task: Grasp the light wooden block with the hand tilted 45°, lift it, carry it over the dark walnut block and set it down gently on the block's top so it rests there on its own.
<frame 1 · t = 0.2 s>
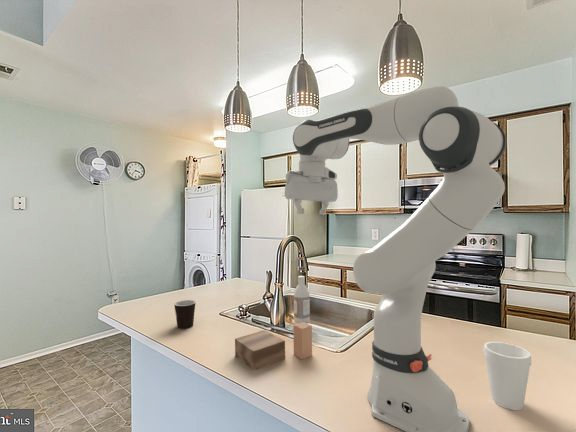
hand: (311, 214, 99), 47 cm above the counter, tool pointing down, fingers open, 8 cm apart
bath foam: (301, 322, 131), on the counter
walnut block: (259, 357, 99), on the counter
light wooden block: (302, 354, 100), on the counter
coffee mug: (186, 325, 129), on the counter
foam cup: (507, 402, 74), on the counter
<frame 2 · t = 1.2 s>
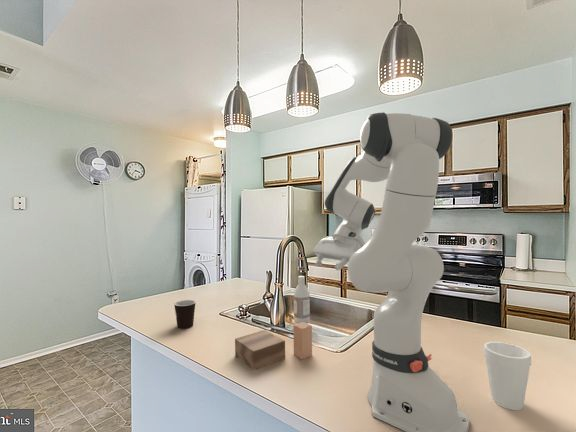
hand: (326, 267, 108), 28 cm above the counter, tool tilted 45°, fingers open, 8 cm apart
nothing on the counter moved.
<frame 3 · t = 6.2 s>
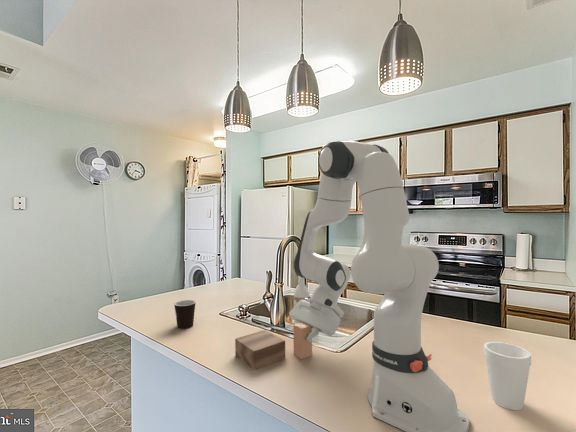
hand: (301, 337, 100), 6 cm above the counter, tool tilted 45°, fingers closed on light wooden block, 4 cm apart
light wooden block: (302, 354, 100), on the counter, touching gripper
everything else where it was.
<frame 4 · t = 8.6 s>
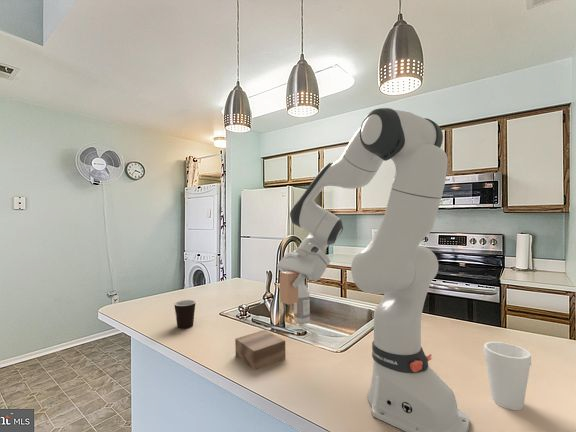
hand: (287, 284, 100), 24 cm above the counter, tool tilted 45°, fingers closed on light wooden block, 4 cm apart
light wooden block: (289, 301, 100), point 18 cm above the counter, touching gripper
everything else where it was.
when the fingers open (13 cm above the counter, at t = 11.2 s): light wooden block drops 1 cm, resting on walnut block.
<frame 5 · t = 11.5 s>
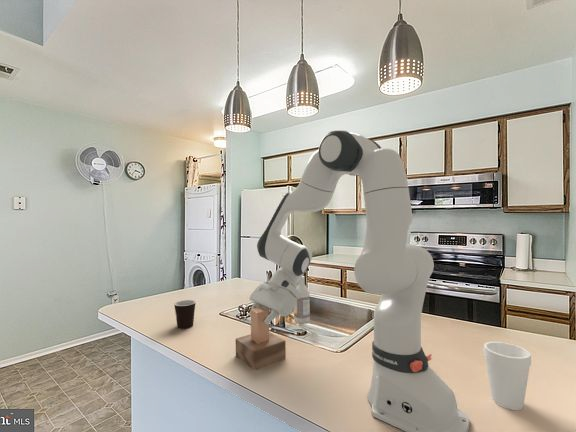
hand: (257, 319, 99), 13 cm above the counter, tool tilted 45°, fingers open, 7 cm apart
walnut block: (260, 357, 99), on the counter, touching light wooden block
light wooden block: (260, 339, 99), point 6 cm above the counter, touching walnut block
everything else where it was.
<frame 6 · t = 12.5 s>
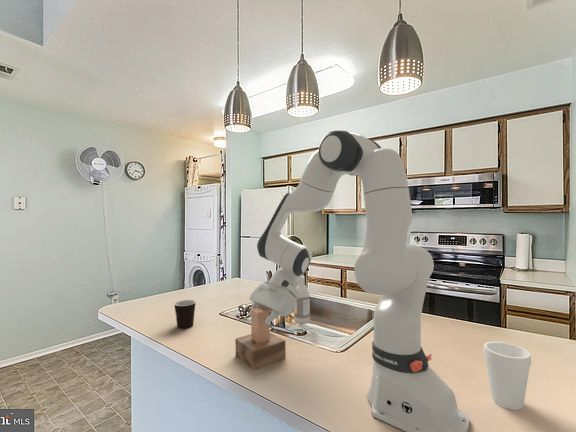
hand: (257, 319, 99), 13 cm above the counter, tool tilted 45°, fingers open, 8 cm apart
nothing on the counter moved.
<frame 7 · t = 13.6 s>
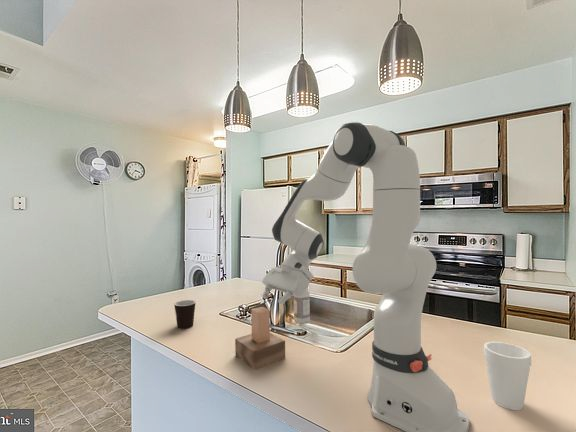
hand: (271, 300, 102), 18 cm above the counter, tool tilted 45°, fingers open, 8 cm apart
walnut block: (260, 357, 99), on the counter
light wooden block: (260, 339, 99), point 6 cm above the counter
everything else where it was.
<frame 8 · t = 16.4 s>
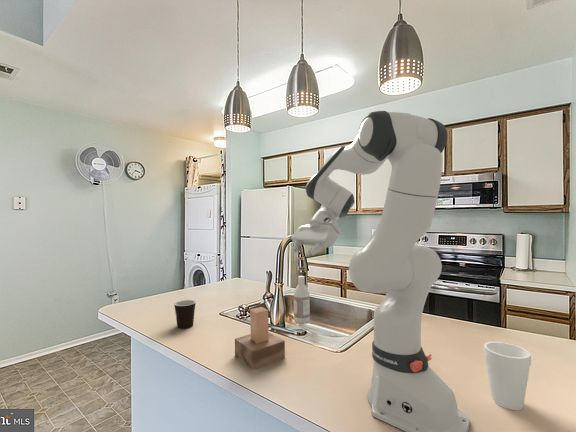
hand: (302, 252, 108), 33 cm above the counter, tool tilted 45°, fingers open, 8 cm apart
nothing on the counter moved.
at the end: light wooden block inside the target area on the walnut block (0.1 cm from its centre), point 6.0 cm above the walnut block's base; light wooden block tilted 1°; the gripper is holding nothing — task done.
